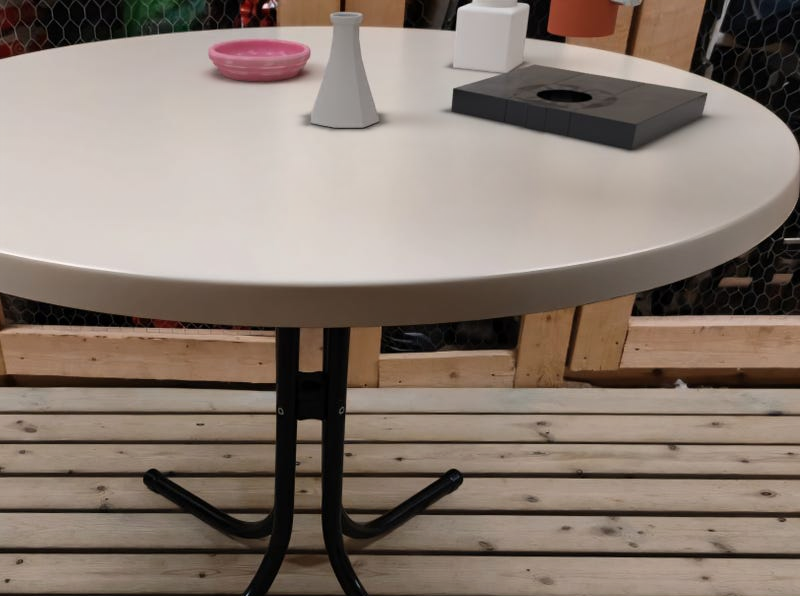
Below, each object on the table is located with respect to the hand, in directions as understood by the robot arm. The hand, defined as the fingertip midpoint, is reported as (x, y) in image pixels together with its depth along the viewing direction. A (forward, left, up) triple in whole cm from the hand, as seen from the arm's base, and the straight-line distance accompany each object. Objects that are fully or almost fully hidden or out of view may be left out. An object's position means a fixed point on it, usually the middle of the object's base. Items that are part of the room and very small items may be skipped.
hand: (584, 0), depth 56 cm
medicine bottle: (+32, -40, -15) cm, 53 cm away
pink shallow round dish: (+50, -17, -15) cm, 55 cm away
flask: (+28, -8, -15) cm, 33 cm away
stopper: (0, 0, -2) cm, 2 cm away
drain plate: (+12, -26, -15) cm, 32 cm away
